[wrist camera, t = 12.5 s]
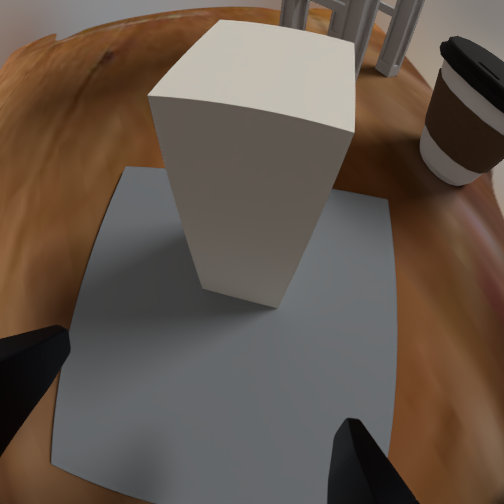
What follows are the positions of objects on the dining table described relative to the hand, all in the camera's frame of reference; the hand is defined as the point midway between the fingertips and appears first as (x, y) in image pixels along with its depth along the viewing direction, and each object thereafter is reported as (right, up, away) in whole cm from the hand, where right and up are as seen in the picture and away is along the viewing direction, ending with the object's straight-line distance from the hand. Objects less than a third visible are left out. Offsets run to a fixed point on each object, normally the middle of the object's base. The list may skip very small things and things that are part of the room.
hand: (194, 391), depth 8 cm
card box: (+2, +3, +11) cm, 11 cm away
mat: (0, -1, +9) cm, 9 cm away
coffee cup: (+21, +13, +17) cm, 29 cm away
